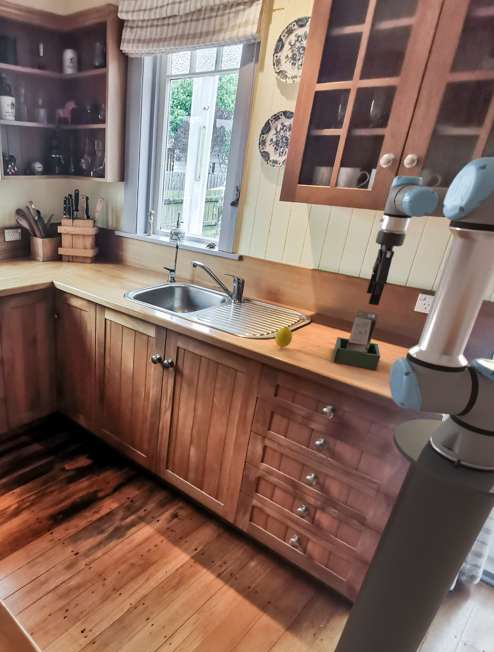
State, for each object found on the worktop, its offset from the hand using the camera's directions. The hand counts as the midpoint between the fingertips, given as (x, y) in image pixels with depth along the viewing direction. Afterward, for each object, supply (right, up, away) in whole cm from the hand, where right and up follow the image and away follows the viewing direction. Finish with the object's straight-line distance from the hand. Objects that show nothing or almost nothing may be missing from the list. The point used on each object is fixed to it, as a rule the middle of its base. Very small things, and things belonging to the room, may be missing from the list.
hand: (372, 298), depth 150 cm
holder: (-1, -19, +10) cm, 22 cm away
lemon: (-24, -15, +16) cm, 32 cm away
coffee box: (-1, -20, +10) cm, 22 cm away
